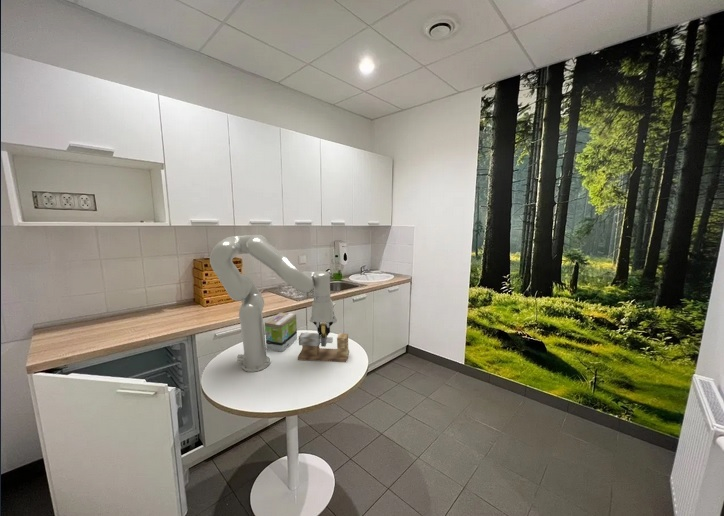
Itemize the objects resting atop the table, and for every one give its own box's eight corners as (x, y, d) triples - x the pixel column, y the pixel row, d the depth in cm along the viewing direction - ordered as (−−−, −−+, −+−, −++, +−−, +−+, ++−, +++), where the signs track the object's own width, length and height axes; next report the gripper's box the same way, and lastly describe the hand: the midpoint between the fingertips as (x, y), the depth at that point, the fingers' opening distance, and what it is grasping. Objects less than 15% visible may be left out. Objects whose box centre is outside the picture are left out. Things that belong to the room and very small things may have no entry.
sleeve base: (297, 359, 142) (296, 339, 140) (303, 350, 151) (302, 330, 148) (346, 362, 139) (345, 341, 137) (349, 352, 148) (348, 332, 146)
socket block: (337, 356, 141) (336, 338, 139) (339, 351, 146) (338, 333, 144) (346, 357, 141) (346, 338, 139) (348, 351, 146) (348, 333, 144)
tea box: (283, 352, 149) (281, 324, 146) (266, 349, 152) (263, 322, 149) (297, 338, 163) (296, 313, 160) (281, 336, 166) (279, 311, 163)
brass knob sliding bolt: (301, 345, 143) (300, 325, 140) (304, 341, 147) (303, 321, 145) (331, 346, 141) (330, 326, 139) (333, 342, 145) (332, 322, 143)
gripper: (302, 300, 136) (305, 337, 140) (338, 301, 134) (339, 338, 138) (307, 294, 143) (309, 330, 147) (341, 295, 141) (342, 331, 145)
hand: (323, 333), depth 142 cm, fingers closed on brass knob sliding bolt, 3 cm apart
